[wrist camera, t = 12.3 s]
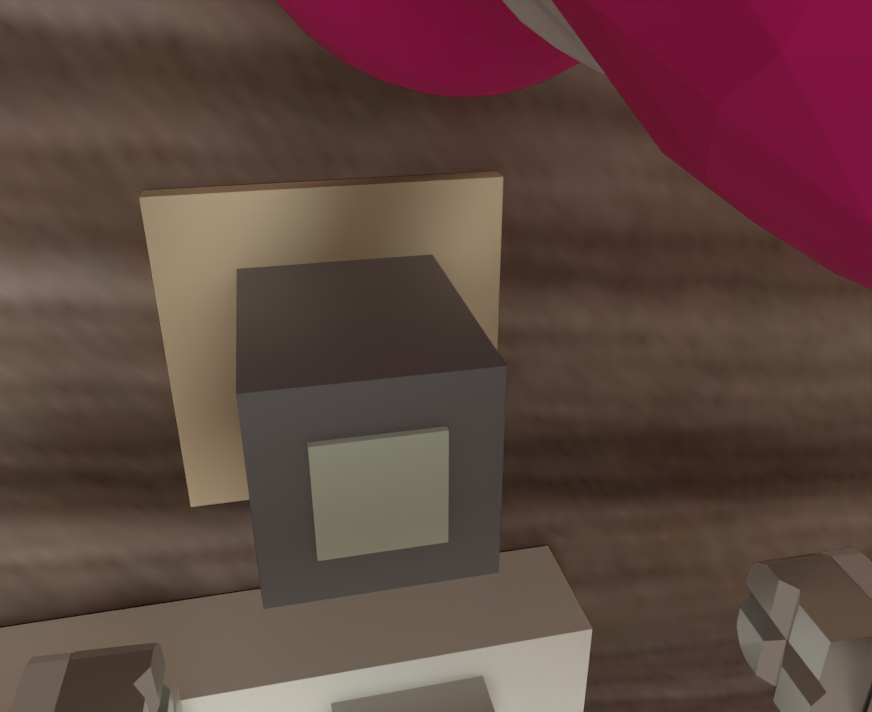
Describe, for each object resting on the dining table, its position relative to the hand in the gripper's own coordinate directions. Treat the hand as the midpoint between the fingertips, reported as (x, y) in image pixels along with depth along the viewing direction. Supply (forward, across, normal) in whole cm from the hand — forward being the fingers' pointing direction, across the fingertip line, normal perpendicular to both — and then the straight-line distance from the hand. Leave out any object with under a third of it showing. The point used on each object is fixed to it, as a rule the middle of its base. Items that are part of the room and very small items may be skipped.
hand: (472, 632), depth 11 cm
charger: (+10, +1, 0) cm, 10 cm away
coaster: (+10, +1, 0) cm, 10 cm away
